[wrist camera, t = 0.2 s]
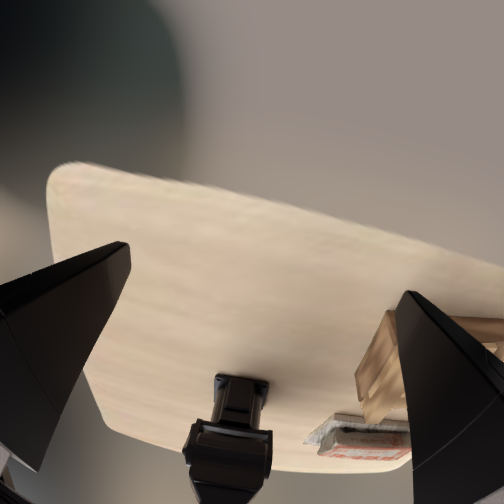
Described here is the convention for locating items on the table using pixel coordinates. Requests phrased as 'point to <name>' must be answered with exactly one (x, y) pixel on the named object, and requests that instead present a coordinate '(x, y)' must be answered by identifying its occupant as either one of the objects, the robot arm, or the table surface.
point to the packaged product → (361, 438)
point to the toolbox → (386, 341)
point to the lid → (390, 389)
